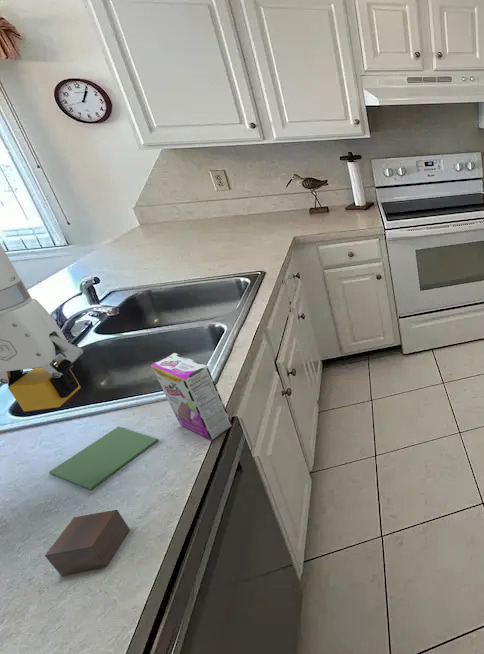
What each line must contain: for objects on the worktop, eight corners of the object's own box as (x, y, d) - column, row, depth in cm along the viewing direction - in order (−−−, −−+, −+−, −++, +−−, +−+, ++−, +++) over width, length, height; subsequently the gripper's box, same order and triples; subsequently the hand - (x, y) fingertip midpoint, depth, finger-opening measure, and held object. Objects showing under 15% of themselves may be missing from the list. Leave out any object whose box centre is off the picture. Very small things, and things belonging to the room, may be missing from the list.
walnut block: (61, 576, 62) (44, 555, 60) (88, 537, 67) (74, 517, 65) (106, 566, 63) (91, 546, 61) (130, 529, 68) (117, 509, 66)
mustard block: (23, 411, 66) (7, 387, 64) (48, 391, 71) (33, 368, 69) (59, 407, 67) (44, 383, 65) (81, 387, 72) (67, 364, 70)
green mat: (49, 473, 78) (48, 471, 78) (119, 428, 89) (118, 426, 88) (91, 490, 75) (89, 488, 75) (158, 440, 85) (157, 439, 85)
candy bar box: (178, 426, 89) (148, 365, 82) (201, 411, 93) (175, 351, 86) (211, 442, 84) (182, 379, 77) (234, 425, 88) (208, 364, 81)
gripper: (-108, 318, 56) (-32, 418, 64) (36, 305, 59) (93, 402, 67) (-53, 293, 63) (10, 387, 71) (75, 282, 66) (122, 374, 73)
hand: (50, 393), depth 69 cm, fingers closed on mustard block, 5 cm apart
